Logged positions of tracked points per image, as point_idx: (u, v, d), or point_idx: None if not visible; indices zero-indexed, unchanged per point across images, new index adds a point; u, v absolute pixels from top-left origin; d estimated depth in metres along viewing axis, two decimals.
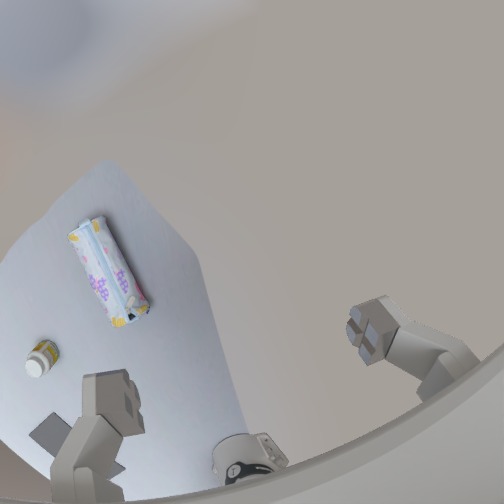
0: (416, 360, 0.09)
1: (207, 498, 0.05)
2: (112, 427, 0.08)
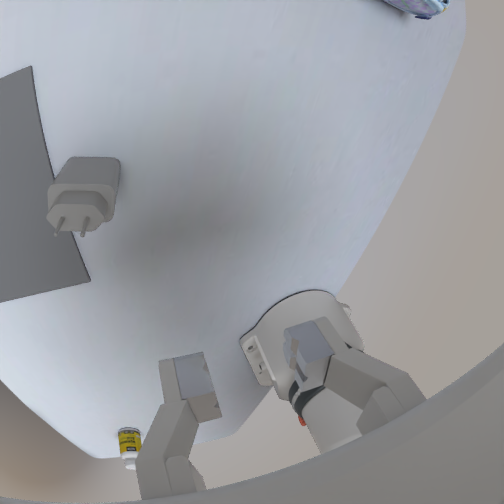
0: (355, 390, 0.09)
1: (207, 498, 0.05)
2: (193, 412, 0.08)
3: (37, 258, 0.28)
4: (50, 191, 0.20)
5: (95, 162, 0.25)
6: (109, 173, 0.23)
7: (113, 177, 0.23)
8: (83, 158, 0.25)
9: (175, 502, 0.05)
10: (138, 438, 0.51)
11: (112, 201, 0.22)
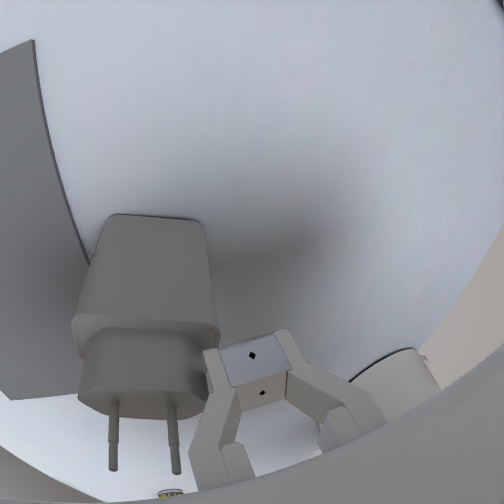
0: (314, 407, 0.08)
1: (207, 498, 0.05)
2: (238, 401, 0.09)
3: (63, 358, 0.19)
4: (77, 324, 0.10)
5: (161, 235, 0.14)
6: (199, 274, 0.13)
7: (209, 286, 0.12)
8: (137, 221, 0.15)
9: (175, 502, 0.05)
10: None
11: (214, 347, 0.11)
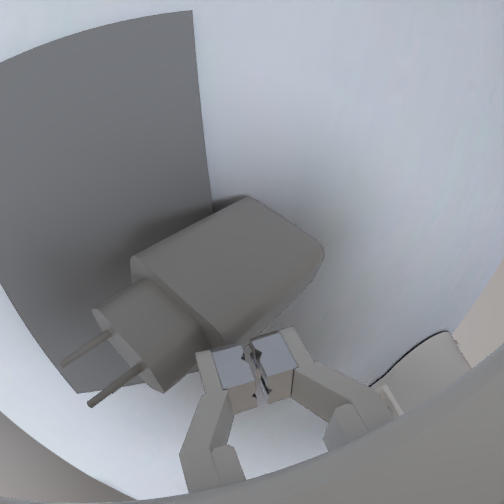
0: (320, 405, 0.09)
1: (207, 497, 0.05)
2: (231, 403, 0.09)
3: None
4: (133, 263, 0.12)
5: (270, 236, 0.14)
6: (262, 288, 0.12)
7: (261, 304, 0.12)
8: (263, 213, 0.16)
9: (175, 502, 0.05)
10: None
11: None
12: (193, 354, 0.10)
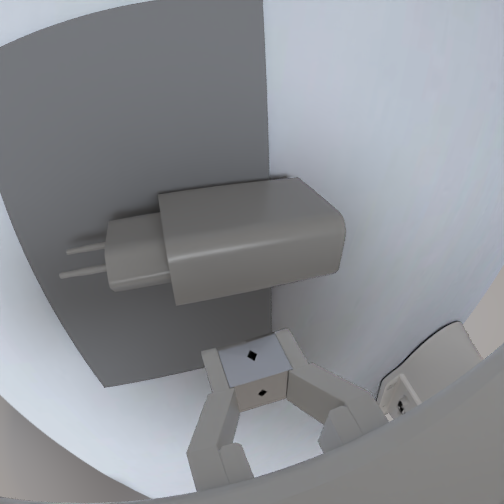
0: (315, 407, 0.08)
1: (207, 498, 0.05)
2: (237, 401, 0.09)
3: (200, 328, 0.21)
4: None
5: (286, 200, 0.14)
6: (235, 227, 0.12)
7: (225, 239, 0.11)
8: (297, 187, 0.15)
9: (175, 502, 0.05)
10: None
11: (170, 277, 0.11)
12: (148, 265, 0.12)
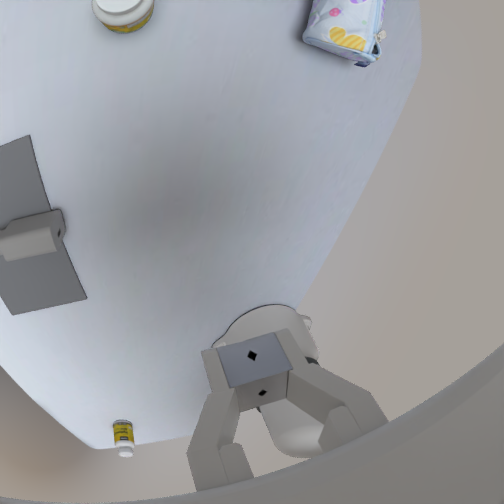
0: (315, 407, 0.08)
1: (208, 498, 0.05)
2: (237, 401, 0.09)
3: (44, 281, 0.36)
4: None
5: (40, 222, 0.29)
6: (17, 233, 0.27)
7: (13, 237, 0.27)
8: (51, 215, 0.31)
9: (175, 502, 0.05)
10: (130, 429, 0.59)
11: (2, 250, 0.27)
12: None
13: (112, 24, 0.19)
